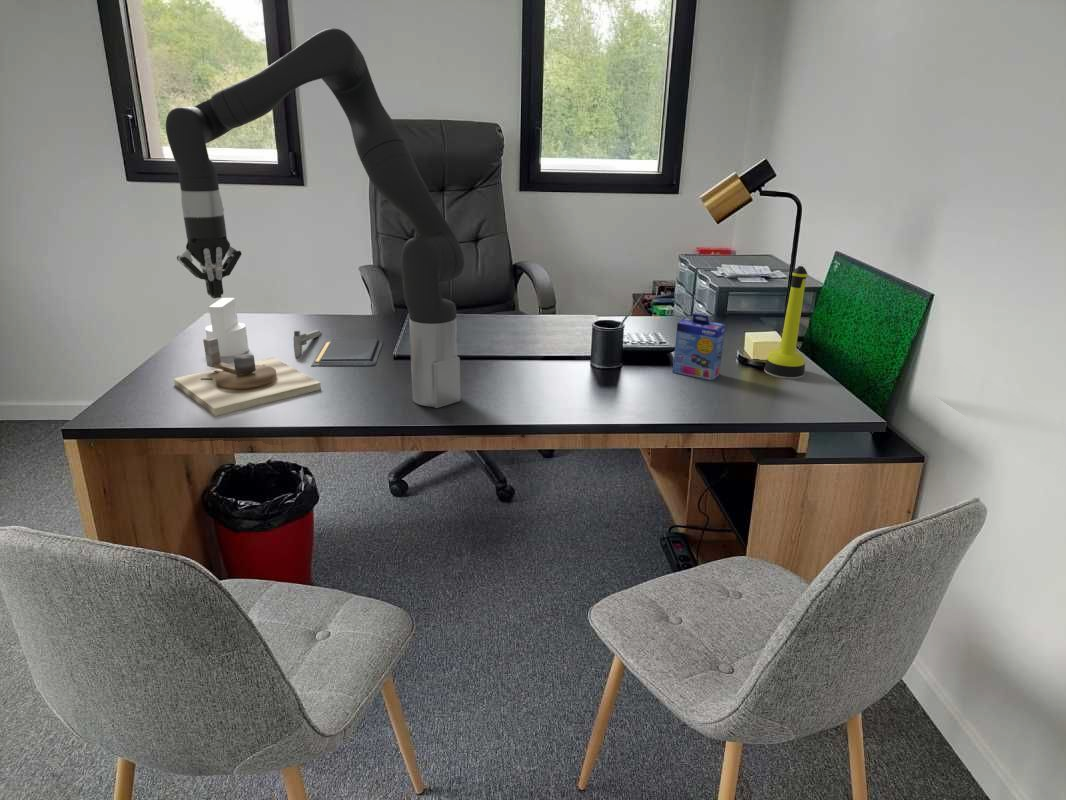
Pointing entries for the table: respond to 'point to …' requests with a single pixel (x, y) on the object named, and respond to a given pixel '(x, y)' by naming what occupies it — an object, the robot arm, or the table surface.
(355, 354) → the dark grey flat block
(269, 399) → the dial board
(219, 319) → the cylinder with rectangular tab
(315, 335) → the caliper
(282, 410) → the table surface
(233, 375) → the dial
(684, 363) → the ink cartridge box
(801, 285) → the flashlight
